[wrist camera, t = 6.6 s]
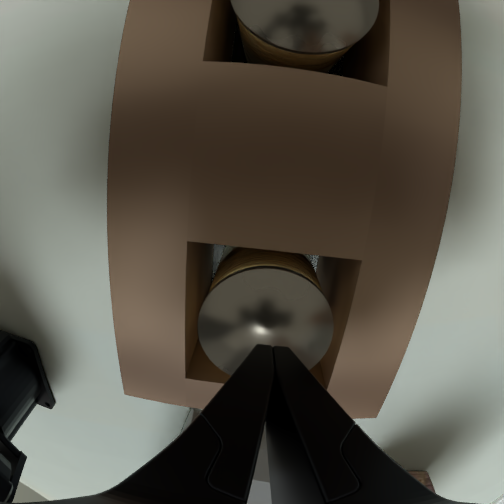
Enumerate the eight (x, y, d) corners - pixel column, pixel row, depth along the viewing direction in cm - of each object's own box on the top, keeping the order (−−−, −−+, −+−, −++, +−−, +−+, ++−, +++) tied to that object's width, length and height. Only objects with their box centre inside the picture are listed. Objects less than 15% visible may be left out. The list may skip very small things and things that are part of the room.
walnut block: (347, 338, 17) (376, 417, 11) (163, 320, 17) (124, 394, 11) (395, 2, 11) (450, -49, 5) (191, -24, 11) (158, -91, 5)
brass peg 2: (301, 305, 16) (318, 387, 10) (218, 297, 16) (196, 375, 10) (315, 225, 15) (346, 277, 9) (225, 215, 15) (200, 261, 9)
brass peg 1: (332, 96, 13) (376, 65, 7) (238, 84, 13) (219, 43, 7) (338, 17, 11) (377, -46, 6) (247, 5, 11) (238, -67, 6)
